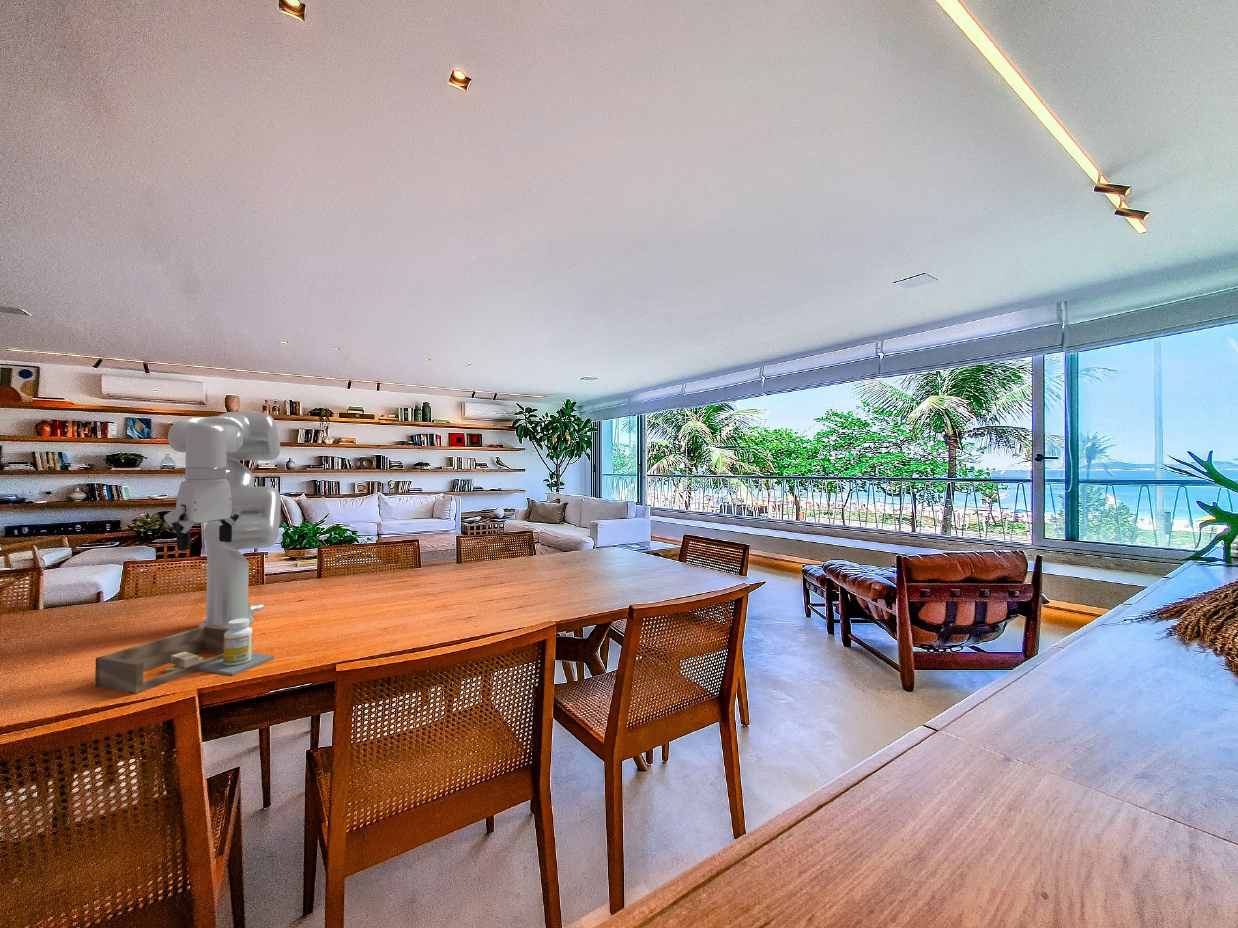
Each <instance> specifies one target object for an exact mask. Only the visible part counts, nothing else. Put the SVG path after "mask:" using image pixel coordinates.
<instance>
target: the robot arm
mask: <svg viewBox="0 0 1238 928" xmlns="http://www.w3.org/2000/svg"><path fill="white" fill-rule="evenodd" d="M167 441H168V444H169V446H170V448H172V449H173V451H176V452H179V453H185V469H184V471H185V472H184V473H185V477H184V478H185V480H182V481H181V482H180V484H179V487H178V492H177V496H176V505H175V509H173V510H172V511H171V510H170V511H169V512H167V513H166V514H164V515H163V519H164V521H165V522H166V523H167V527H169V528H170V529H171V530H172V531H173V533H176V542H175V543H176V549H177V550H182V551H190V550H191V549H192V548H191V547H192V534H191V532H189V531H190V530H191V528H192V527H193V526H194V525H195V524H204V523H206V524H205V526H204V528H203V539H204V544H205V550H206V551H205V552H206V565H207V566H206V570H207V571H206V606H205V607H206V608H205V609H206V612H205V614H206V615H205V616H206V617H205V620H204V621H202V622H200V623H199V625H198V628H199V627H202V626H206V625H209V626H216V627H224V628H228V622H229V621H231V620H235V619H240V618H248V619H249V625H251V624H253V623H254V622H255V617H254V616H253V615H252V614H254V613H255V612H258V611H261V610H263V609H264V604H263V603H259V604H255V605H252V604H249V569H250V566H249V561H248V559H247V558H246V556H244V555H243V553H241V552H240V550H247V549H249V550H250V549H263V548H265V549H266V548H271V547H273V546H274V545H276V543H277V541H278V538H279V530H280V520H281V507H282V498H281V494H280V491H279V490H278V489H277V488H275V487H272V486H254V485H255V480H256V478H255V475H254V473H253V472H252V471H251V470H250V469H249V468H248V467H247V466H246V465H244V464H243V463H241V462H240V461H266V462H267V461H273V460H276V459H277V458H278V457H279V456H280V452H281V442H280V436H279V430H278V426H277V423H276V421H275V419H274V417H272V416H271V415H270V414H268V413H264V412H263V413H262V412H247V411H246V412H245V411H227V412H225V413H222V414H219V415H214V416H213V415H212V416H205V417H203V416H202V417H193V418H184V419H180V420H178V421H176V422H175V423H173V424H172V425H171V427H170V428H169V429H168V434H167Z"/></svg>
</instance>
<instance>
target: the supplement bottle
mask: <svg viewBox="0 0 1238 928" xmlns="http://www.w3.org/2000/svg"><path fill="white" fill-rule="evenodd" d="M228 629H229V630H228V631H226V632H225V634H224V658H223V661H224V664H225V665H228V666H231V665H239V664H243V663H246V662H248V661H250V660H251V659H252V653H253V628H252V627H250V624H249V619H248V618H240V619H235V620H231V621H229V622H228Z"/></svg>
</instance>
